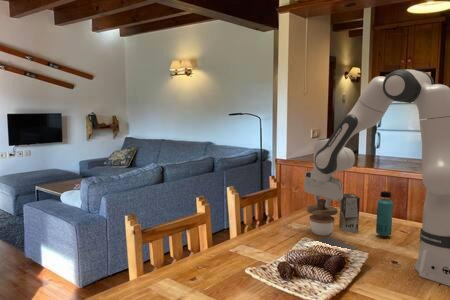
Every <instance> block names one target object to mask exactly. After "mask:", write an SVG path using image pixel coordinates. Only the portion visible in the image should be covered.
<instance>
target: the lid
mask: <svg viewBox="0 0 450 300" xmlns="http://www.w3.org/2000/svg"><path fill="white" fill-rule="evenodd" d="M324 203H326V200H325V199H324V198H320V199H318V201H317V205H316V204H314V205H308V206H307V208H306V212H307V213H309V214H311V215H321V216H335V215H338V212H339V211H338V209H337V207H334V206H331V205H329V208H325V207H324Z"/></svg>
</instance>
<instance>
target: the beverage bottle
mask: <svg viewBox="0 0 450 300" xmlns="http://www.w3.org/2000/svg"><path fill="white" fill-rule="evenodd" d="M391 193H392V192H390V191H384V190H383V191H382V190H381V192H380V196H379V197H381V198H380V199H378V200H377V206H376V207H377V208H376V219H375V220H376V223H375V224H376V225H375V232H376V234H377V235H379V236H382V237H383V236H386V237H387V236H392V232H393V231H392V229H393V228H392V227H393V209H394V207H393V206H394V202H393V200H391V199H389V198H391V197H392V194H391Z"/></svg>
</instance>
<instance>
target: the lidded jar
mask: <svg viewBox="0 0 450 300" xmlns="http://www.w3.org/2000/svg"><path fill="white" fill-rule="evenodd" d="M308 219H309V227H310V230H311V232H312V233H313V234H314V235H317V236H324V237H325V236H326V237H327V236H328V235H330V234H332V232H333V231H334V228H335V227H334V226H335V217H334V216H333V215H331V216H321V215H314V214H311V215H309V218H308Z"/></svg>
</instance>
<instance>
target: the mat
mask: <svg viewBox="0 0 450 300" xmlns="http://www.w3.org/2000/svg"><path fill="white" fill-rule="evenodd" d="M314 240H315V241H319V242H322V243H326V244H329V245H331V246H337V247H341V248H347V249H351V250H352V251H356V250H358V249H359V248H357V247H355V246H353V245H350V244H349V243H345V242H342V241H341V240H337V239H335V238H334V237H330V236H326V237H325V236H324V237H321V238H317V239H314ZM306 248H308V246H307V247H306Z"/></svg>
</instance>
